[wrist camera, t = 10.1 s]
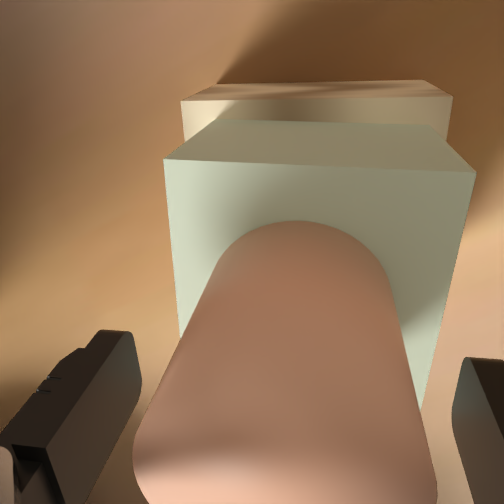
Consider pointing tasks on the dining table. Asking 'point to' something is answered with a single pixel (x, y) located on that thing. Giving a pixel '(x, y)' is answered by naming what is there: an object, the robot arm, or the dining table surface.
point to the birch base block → (321, 103)
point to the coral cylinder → (288, 383)
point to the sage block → (326, 206)
